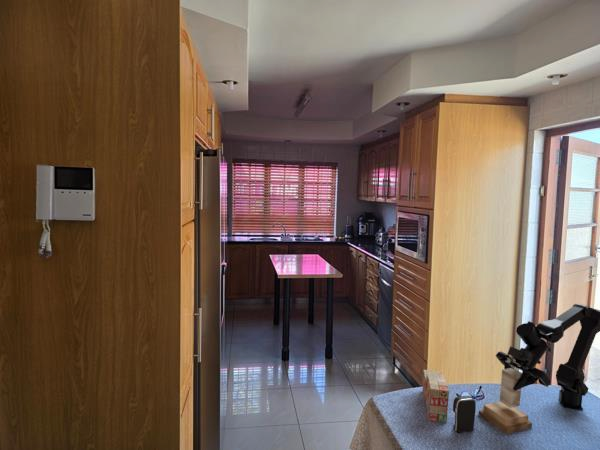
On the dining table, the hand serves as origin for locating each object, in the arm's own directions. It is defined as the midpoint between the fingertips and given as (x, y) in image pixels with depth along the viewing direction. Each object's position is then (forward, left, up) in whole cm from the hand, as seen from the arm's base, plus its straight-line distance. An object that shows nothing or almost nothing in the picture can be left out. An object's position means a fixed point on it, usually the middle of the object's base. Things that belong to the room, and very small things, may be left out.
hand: (508, 386), depth 140 cm
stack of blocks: (+24, -2, -13) cm, 28 cm away
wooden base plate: (0, 0, -14) cm, 14 cm away
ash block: (-1, -1, -7) cm, 7 cm away
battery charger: (+15, +10, -13) cm, 23 cm away
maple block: (0, 0, -11) cm, 11 cm away
